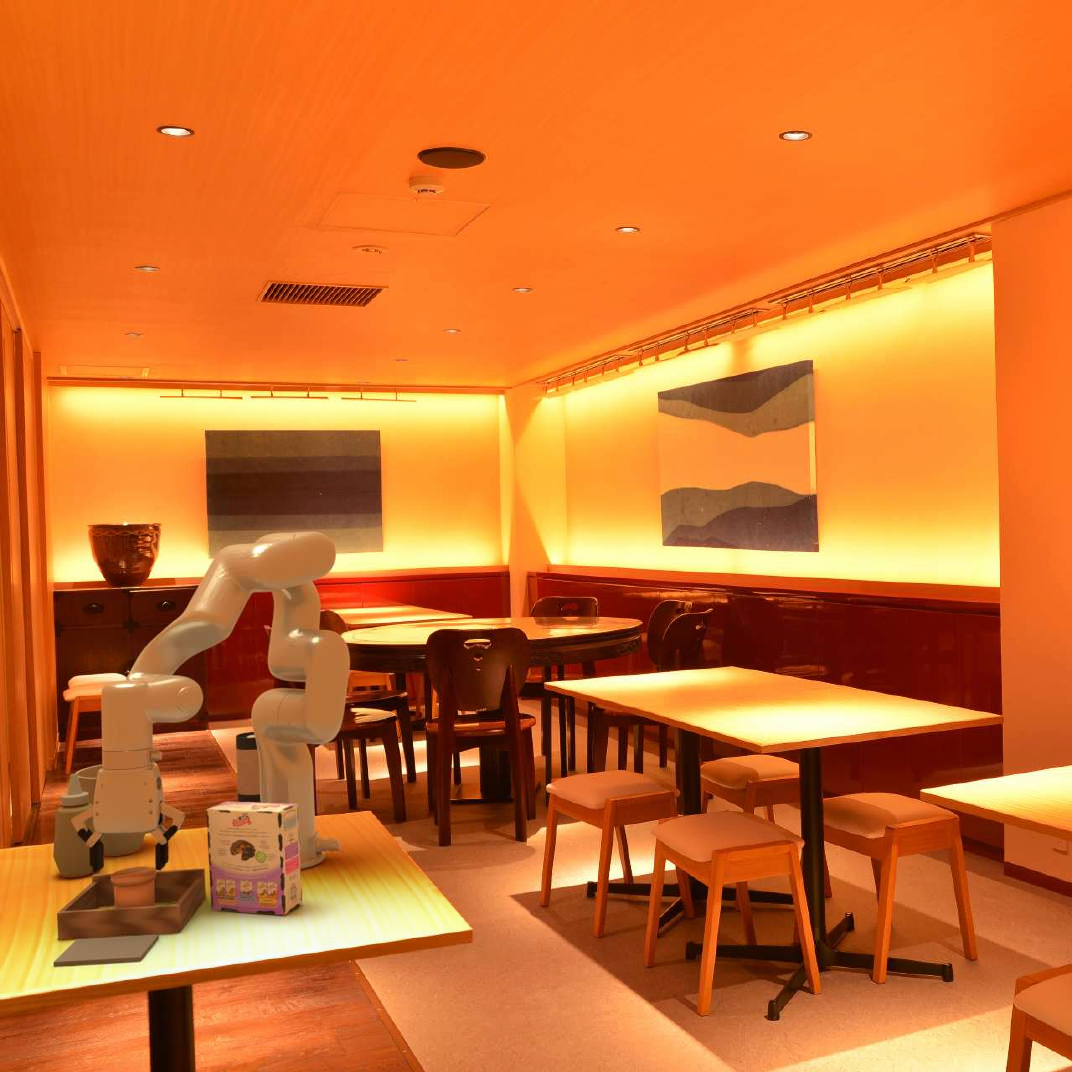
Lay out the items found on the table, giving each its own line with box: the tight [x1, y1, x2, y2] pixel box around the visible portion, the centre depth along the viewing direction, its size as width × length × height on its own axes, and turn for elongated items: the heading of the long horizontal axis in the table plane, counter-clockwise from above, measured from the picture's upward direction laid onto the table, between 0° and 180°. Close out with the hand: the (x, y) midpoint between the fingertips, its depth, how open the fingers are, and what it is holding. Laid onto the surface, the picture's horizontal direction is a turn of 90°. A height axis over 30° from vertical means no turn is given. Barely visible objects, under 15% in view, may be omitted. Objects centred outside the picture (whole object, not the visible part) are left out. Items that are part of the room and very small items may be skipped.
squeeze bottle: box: [52, 773, 95, 879], centre depth 203 cm, size 8×8×18 cm
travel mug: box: [235, 731, 261, 803], centre depth 226 cm, size 8×8×20 cm
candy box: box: [205, 800, 303, 916], centre depth 179 cm, size 14×6×16 cm, turn 71°
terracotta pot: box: [110, 866, 157, 908], centre depth 177 cm, size 7×7×7 cm
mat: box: [53, 934, 160, 967], centre depth 162 cm, size 12×9×1 cm
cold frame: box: [56, 868, 207, 941], centre depth 177 cm, size 18×16×5 cm
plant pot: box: [75, 762, 158, 857], centre depth 217 cm, size 15×15×16 cm
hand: (129, 869), depth 176 cm, fingers open, 9 cm apart
